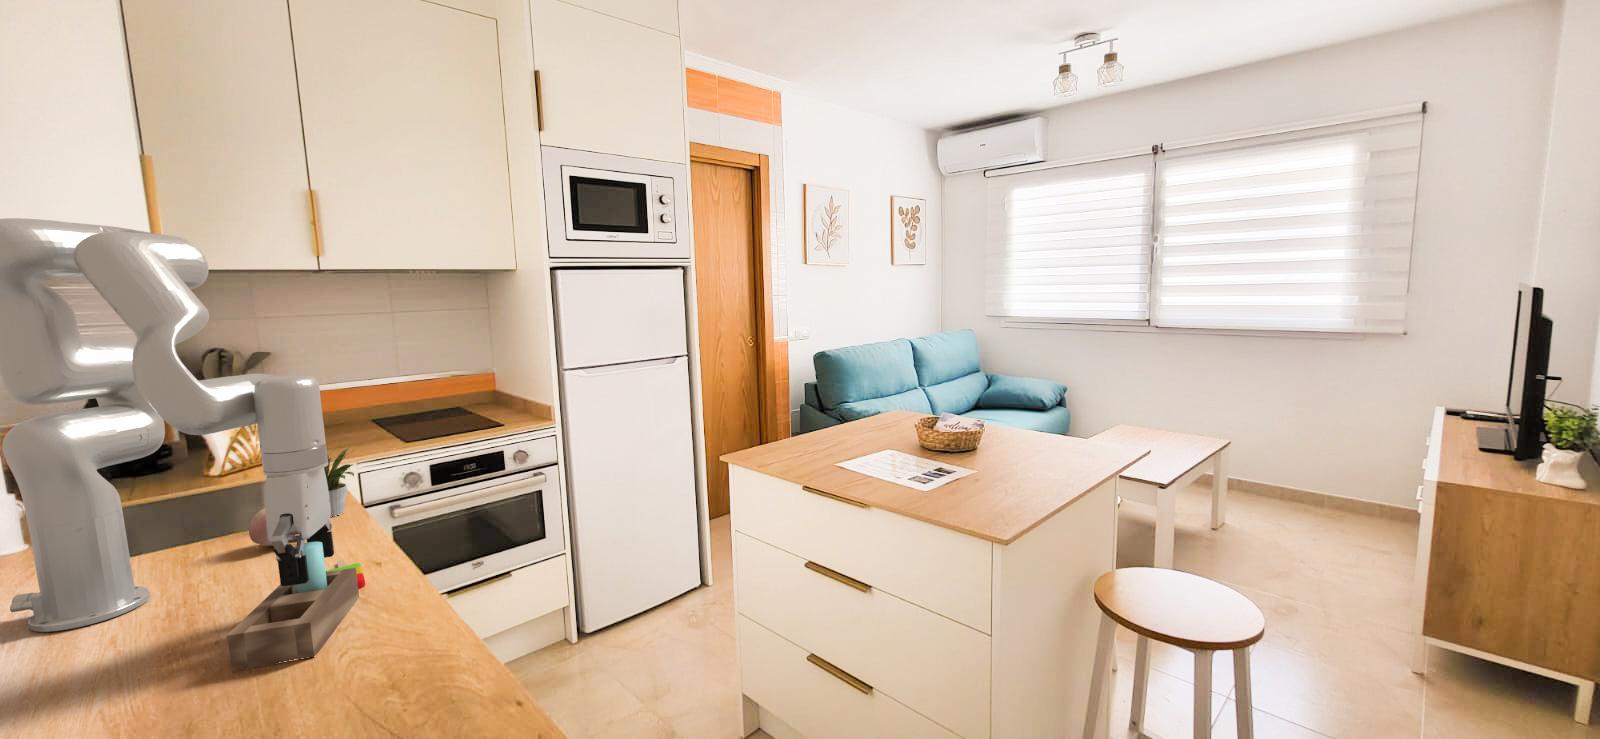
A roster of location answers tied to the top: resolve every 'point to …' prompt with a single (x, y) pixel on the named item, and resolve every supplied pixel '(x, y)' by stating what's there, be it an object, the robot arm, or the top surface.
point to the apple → (259, 529)
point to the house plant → (337, 483)
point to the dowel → (313, 568)
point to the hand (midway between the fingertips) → (309, 570)
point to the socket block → (292, 622)
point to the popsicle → (358, 570)
